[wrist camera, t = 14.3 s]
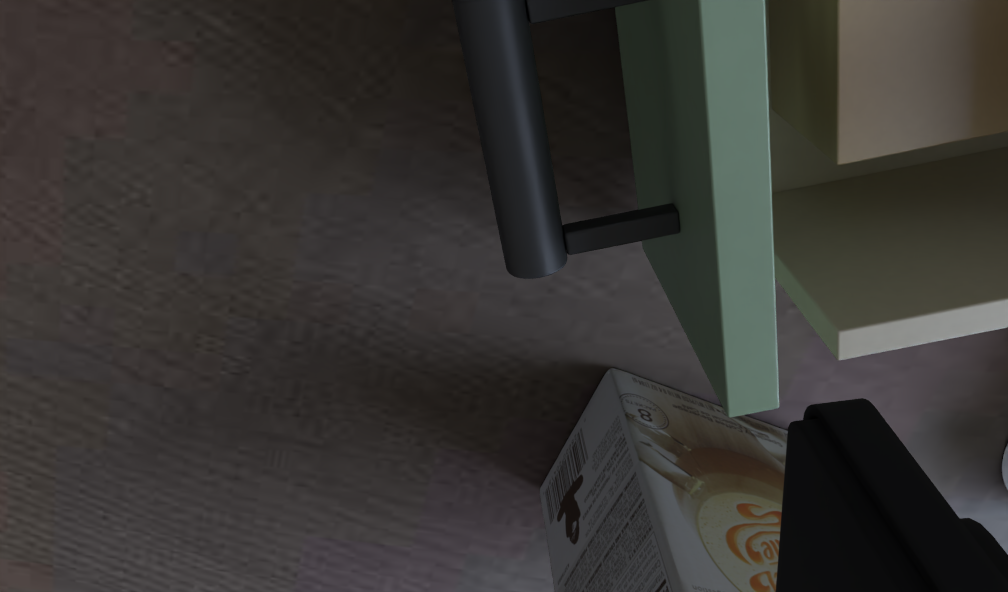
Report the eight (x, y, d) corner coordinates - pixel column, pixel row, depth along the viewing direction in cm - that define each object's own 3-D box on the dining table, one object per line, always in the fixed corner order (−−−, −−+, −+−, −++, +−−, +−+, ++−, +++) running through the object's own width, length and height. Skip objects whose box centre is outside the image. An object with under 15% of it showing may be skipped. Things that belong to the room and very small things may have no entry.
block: (765, -60, 23) (838, -33, 19) (940, -96, 23) (1050, -76, 19) (770, 110, 25) (837, 166, 21) (930, 78, 25) (1027, 128, 21)
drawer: (509, 275, 28) (542, 455, 20) (419, -171, 22) (417, -161, 14) (1105, 157, 28) (1373, 293, 20) (1183, -329, 21) (1615, -408, 14)
